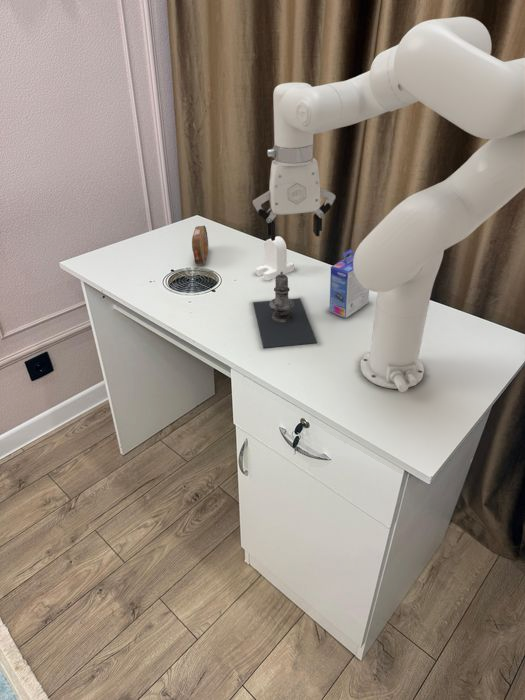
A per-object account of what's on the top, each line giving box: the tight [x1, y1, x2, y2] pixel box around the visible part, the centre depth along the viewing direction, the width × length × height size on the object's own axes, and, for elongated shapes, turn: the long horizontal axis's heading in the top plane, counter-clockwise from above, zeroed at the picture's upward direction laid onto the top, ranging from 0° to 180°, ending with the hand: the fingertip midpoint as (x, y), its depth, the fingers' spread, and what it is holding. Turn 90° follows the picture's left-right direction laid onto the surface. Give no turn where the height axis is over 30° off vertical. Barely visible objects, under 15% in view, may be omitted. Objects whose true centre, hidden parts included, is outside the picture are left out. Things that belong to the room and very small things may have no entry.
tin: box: [191, 225, 209, 265], centre depth 148 cm, size 15×3×8 cm, turn 179°
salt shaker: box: [269, 271, 294, 322], centre depth 119 cm, size 6×6×12 cm
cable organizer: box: [255, 235, 295, 281], centre depth 139 cm, size 5×10×10 cm, turn 128°
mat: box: [252, 297, 318, 349], centre depth 121 cm, size 20×12×1 cm, turn 7°
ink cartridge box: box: [329, 248, 370, 319], centre depth 121 cm, size 10×6×14 cm, turn 137°
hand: (294, 236), depth 110 cm, fingers open, 9 cm apart
